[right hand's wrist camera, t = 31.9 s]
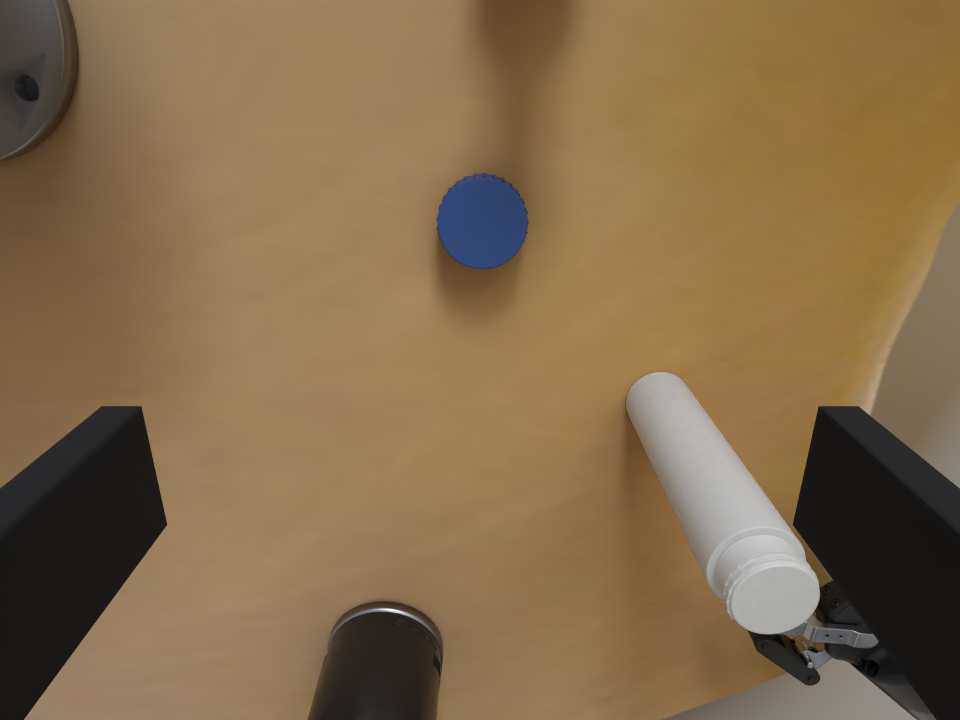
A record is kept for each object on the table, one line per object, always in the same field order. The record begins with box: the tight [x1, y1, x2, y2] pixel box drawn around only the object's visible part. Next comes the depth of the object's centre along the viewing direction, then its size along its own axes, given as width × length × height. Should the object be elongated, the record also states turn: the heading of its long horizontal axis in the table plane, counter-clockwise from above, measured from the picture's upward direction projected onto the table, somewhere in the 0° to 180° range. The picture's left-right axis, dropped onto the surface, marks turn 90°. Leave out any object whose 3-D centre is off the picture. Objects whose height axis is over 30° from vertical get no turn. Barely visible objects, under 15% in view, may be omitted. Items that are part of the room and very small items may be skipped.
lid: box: [437, 173, 528, 269], centre depth 40 cm, size 6×6×2 cm
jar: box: [626, 372, 820, 634], centre depth 37 cm, size 4×4×20 cm
